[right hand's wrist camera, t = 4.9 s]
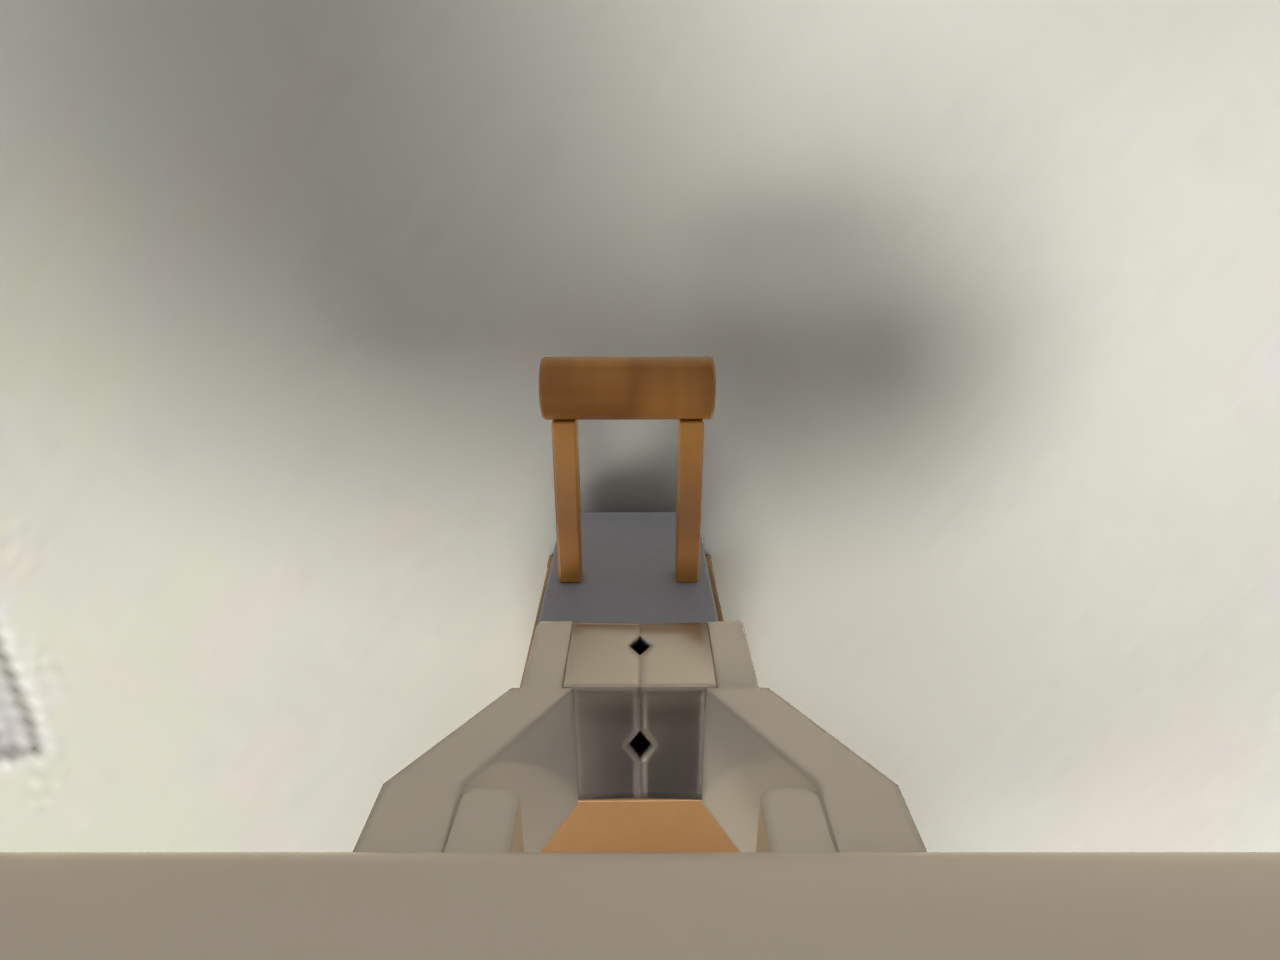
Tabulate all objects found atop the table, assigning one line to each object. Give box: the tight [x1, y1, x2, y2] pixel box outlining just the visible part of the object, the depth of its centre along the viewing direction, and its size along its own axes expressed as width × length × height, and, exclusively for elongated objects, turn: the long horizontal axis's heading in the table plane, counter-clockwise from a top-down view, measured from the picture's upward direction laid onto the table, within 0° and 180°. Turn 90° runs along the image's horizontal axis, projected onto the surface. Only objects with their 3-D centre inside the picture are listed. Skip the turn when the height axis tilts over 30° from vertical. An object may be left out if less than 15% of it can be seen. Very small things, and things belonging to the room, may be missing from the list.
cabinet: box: [520, 555, 739, 853], centre depth 24 cm, size 21×6×11 cm, turn 0°
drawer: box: [538, 357, 719, 624], centre depth 21 cm, size 26×4×9 cm, turn 0°
